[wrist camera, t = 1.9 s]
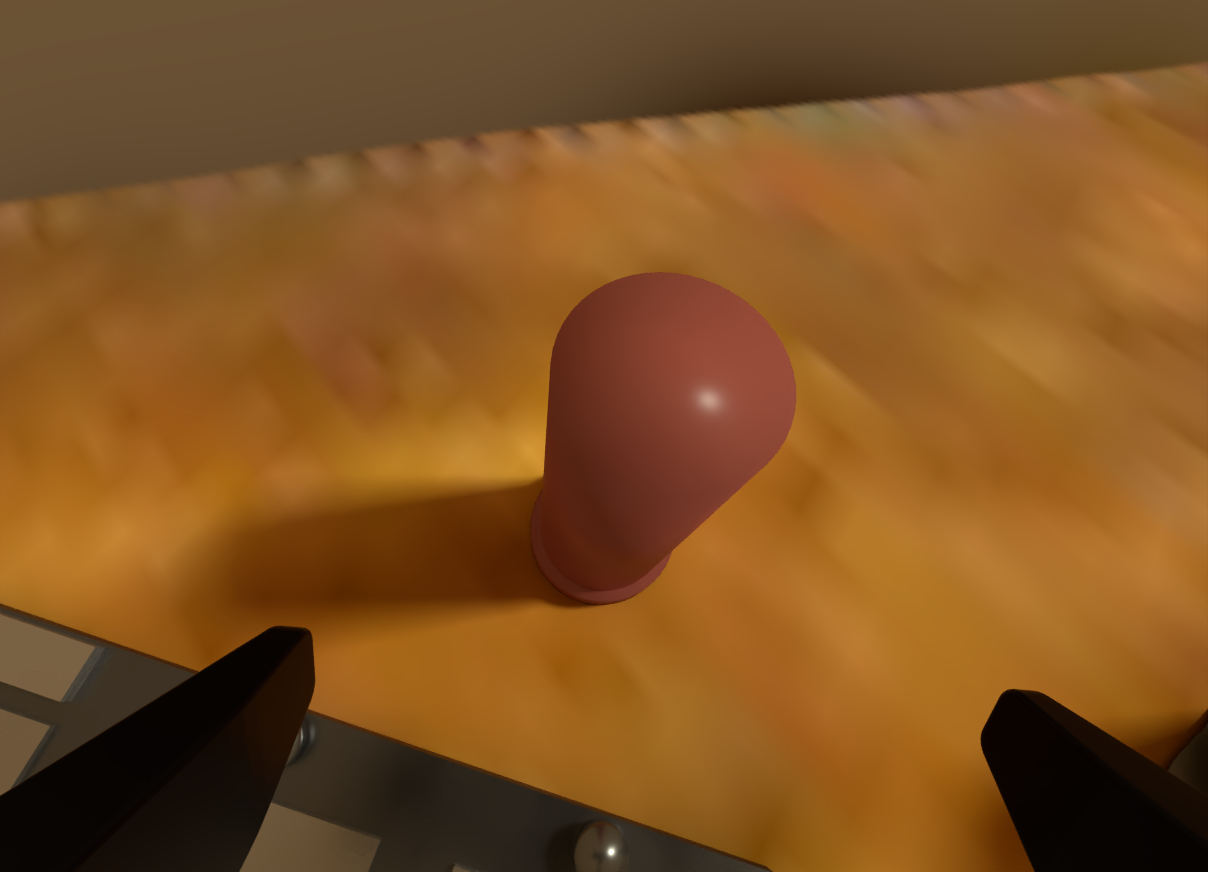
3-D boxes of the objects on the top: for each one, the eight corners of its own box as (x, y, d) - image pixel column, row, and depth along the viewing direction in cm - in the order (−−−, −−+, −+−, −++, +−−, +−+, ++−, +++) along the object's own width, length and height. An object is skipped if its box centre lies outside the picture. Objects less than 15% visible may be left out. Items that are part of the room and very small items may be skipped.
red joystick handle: (647, 624, 18) (788, 556, 8) (510, 577, 18) (485, 454, 8) (682, 493, 20) (832, 307, 10) (557, 451, 20) (583, 226, 10)
